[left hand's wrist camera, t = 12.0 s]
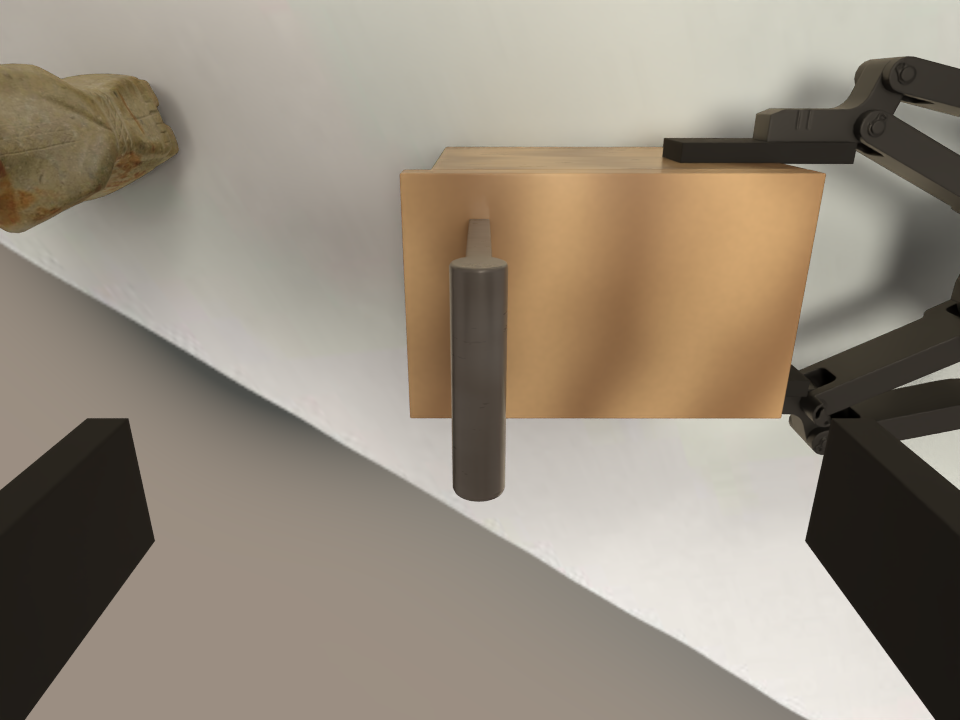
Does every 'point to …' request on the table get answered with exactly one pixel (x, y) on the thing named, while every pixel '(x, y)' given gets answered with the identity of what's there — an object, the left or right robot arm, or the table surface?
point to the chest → (578, 159)
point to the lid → (599, 297)
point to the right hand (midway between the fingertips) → (659, 270)
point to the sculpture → (73, 140)
